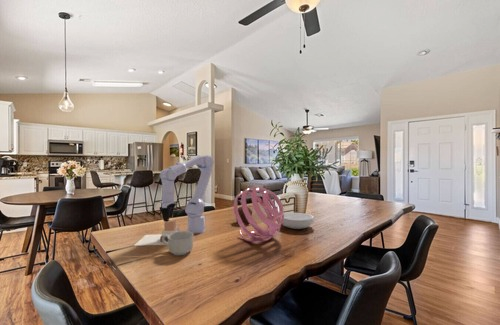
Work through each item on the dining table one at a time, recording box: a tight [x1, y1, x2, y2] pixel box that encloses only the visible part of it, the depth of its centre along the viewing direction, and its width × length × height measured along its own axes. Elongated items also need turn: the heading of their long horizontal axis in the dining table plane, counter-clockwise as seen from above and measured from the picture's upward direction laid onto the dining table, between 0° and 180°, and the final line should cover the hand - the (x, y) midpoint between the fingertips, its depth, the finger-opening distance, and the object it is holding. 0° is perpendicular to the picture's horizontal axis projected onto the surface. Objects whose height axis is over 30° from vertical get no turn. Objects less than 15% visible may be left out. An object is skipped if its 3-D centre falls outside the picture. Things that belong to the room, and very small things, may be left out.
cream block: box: [161, 226, 180, 236], centre depth 121 cm, size 7×7×2 cm
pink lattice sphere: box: [233, 186, 285, 243], centre depth 123 cm, size 28×28×27 cm
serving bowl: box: [280, 212, 314, 230], centre depth 145 cm, size 21×21×7 cm
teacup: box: [162, 230, 194, 257], centre depth 105 cm, size 14×11×8 cm
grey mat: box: [133, 233, 168, 247], centre depth 121 cm, size 20×16×1 cm
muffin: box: [235, 206, 253, 225], centre depth 155 cm, size 12×11×10 cm
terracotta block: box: [163, 219, 177, 231], centre depth 121 cm, size 4×4×4 cm
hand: (168, 219), depth 121 cm, fingers open, 7 cm apart
